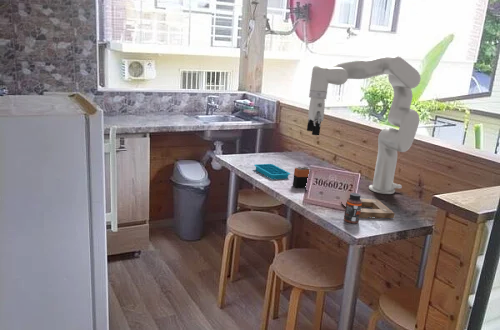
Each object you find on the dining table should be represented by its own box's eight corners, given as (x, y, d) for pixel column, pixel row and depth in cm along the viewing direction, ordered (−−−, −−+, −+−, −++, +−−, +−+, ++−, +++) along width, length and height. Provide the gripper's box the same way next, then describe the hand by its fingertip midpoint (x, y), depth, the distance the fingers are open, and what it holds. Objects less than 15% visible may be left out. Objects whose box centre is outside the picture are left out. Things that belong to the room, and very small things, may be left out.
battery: (308, 188, 215) (311, 168, 212) (296, 188, 212) (298, 168, 210) (304, 185, 219) (307, 165, 216) (292, 185, 216) (294, 165, 214)
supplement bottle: (357, 225, 172) (361, 197, 169) (342, 221, 174) (346, 194, 171) (359, 220, 178) (364, 193, 175) (345, 217, 180) (349, 190, 177)
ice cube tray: (271, 168, 245) (271, 163, 244) (290, 179, 228) (291, 173, 227) (252, 169, 239) (253, 164, 239) (271, 180, 222) (272, 175, 222)
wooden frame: (376, 204, 199) (377, 199, 198) (393, 219, 183) (394, 212, 182) (340, 203, 196) (341, 197, 196) (354, 217, 180) (355, 211, 180)
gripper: (331, 97, 187) (326, 137, 191) (321, 93, 203) (316, 130, 208) (314, 96, 186) (309, 136, 190) (305, 92, 202) (300, 128, 207)
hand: (312, 132), depth 199 cm, fingers open, 9 cm apart
